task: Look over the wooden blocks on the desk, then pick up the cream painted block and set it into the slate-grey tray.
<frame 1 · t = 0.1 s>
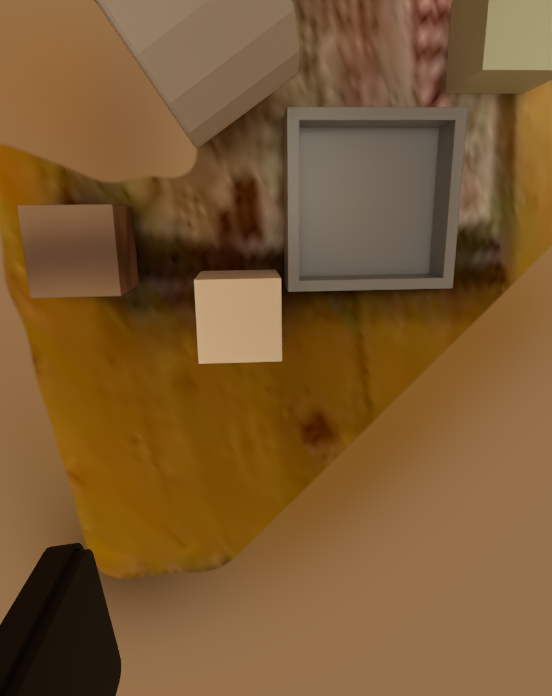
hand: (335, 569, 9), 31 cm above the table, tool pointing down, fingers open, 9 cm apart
walnut block: (97, 247, 37), on the table
grey tray: (363, 204, 38), on the table
sage block: (486, 49, 36), on the table
cream block: (239, 306, 39), on the table
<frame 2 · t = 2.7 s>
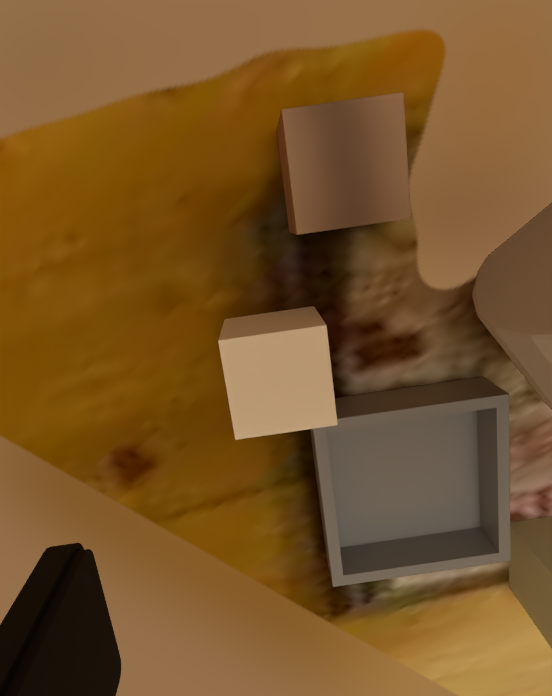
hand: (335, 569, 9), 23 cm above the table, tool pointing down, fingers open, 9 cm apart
walnut block: (330, 176, 30), on the table
grey tray: (401, 468, 35), on the table
sage block: (545, 549, 38), on the table
cream block: (275, 355, 33), on the table
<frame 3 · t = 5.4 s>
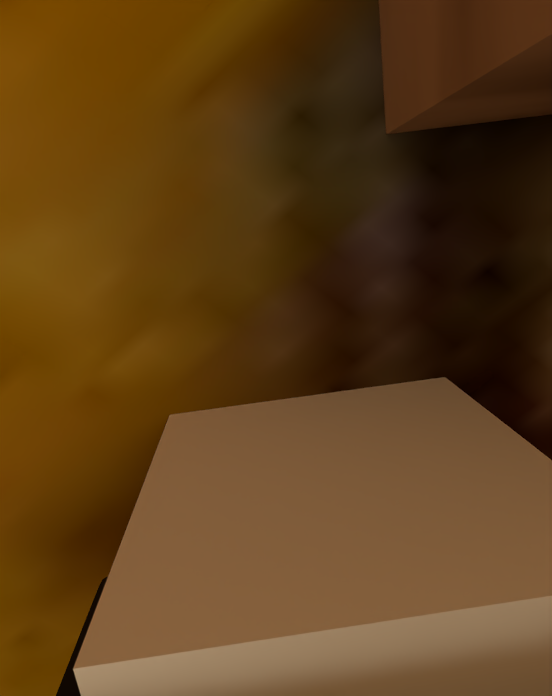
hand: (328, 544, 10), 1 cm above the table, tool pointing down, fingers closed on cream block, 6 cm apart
cream block: (321, 515, 11), on the table, touching gripper
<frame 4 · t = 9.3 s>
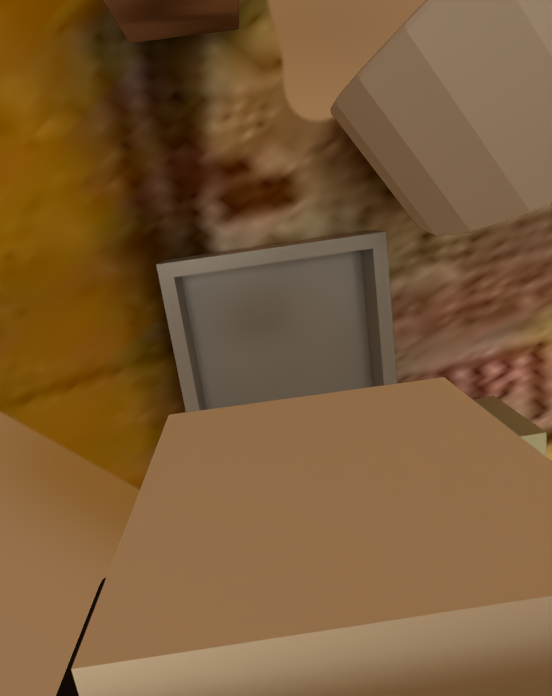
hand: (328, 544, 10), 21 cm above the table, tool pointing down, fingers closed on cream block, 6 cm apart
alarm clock: (485, 58, 28), on the table
grey tray: (281, 343, 31), on the table
sage block: (452, 441, 34), on the table
cream block: (320, 516, 11), point 20 cm above the table, touching gripper
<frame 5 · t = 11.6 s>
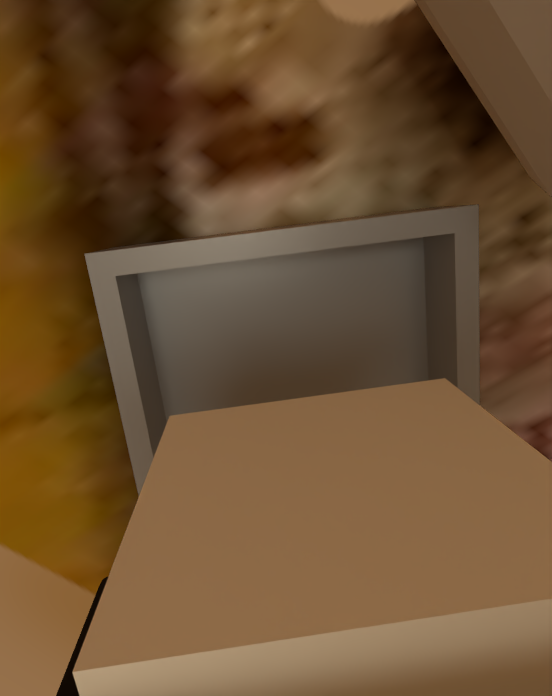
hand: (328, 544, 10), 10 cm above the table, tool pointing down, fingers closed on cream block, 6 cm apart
grey tray: (294, 379, 20), on the table
cream block: (321, 517, 11), point 9 cm above the table, touching gripper
when the fingers open (3 cm above the table, at t = 13.4 s): cream block drops 2 cm, resting on grey tray.
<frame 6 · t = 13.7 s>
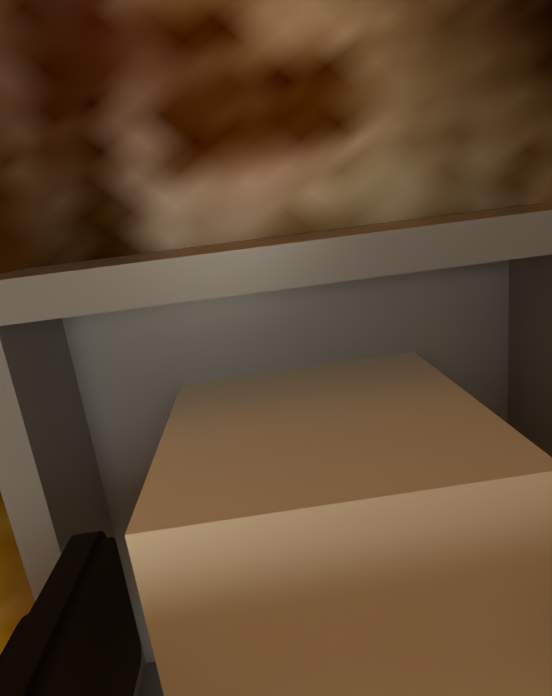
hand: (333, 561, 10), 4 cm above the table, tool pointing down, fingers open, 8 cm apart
grey tray: (307, 462, 14), on the table
cream block: (311, 472, 13), point 1 cm above the table, touching grey tray
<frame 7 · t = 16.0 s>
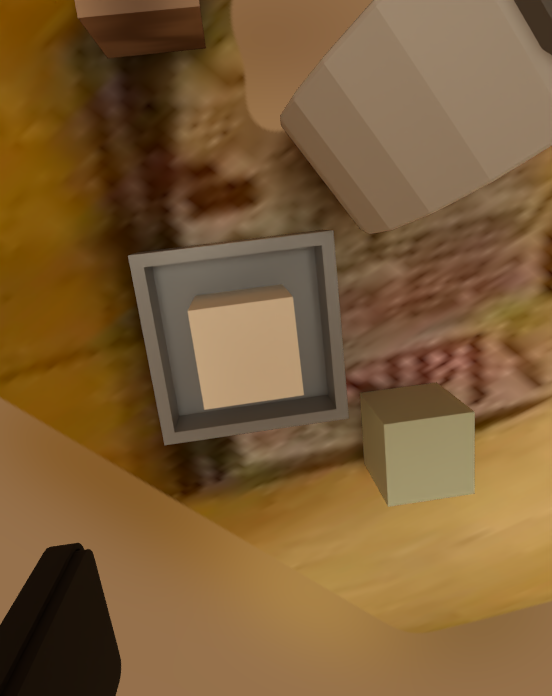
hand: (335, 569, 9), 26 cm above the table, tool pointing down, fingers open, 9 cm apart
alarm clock: (425, 79, 31), on the table
grey tray: (244, 330, 34), on the table
sage block: (399, 423, 37), on the table
cream block: (244, 332, 34), point 1 cm above the table, touching grey tray
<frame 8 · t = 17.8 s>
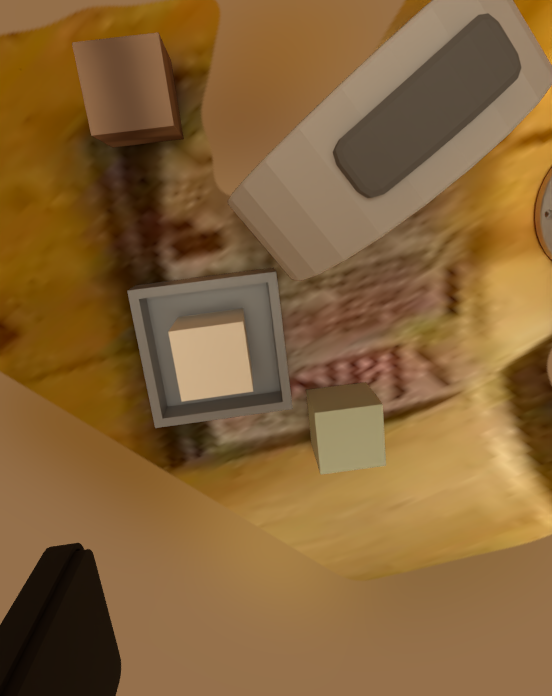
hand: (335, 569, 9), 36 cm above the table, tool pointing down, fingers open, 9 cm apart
walnut block: (141, 104, 40), on the table
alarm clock: (348, 157, 42), on the table
grey tray: (215, 342, 45), on the table
sage block: (338, 413, 48), on the table
cream block: (215, 343, 45), point 1 cm above the table, touching grey tray
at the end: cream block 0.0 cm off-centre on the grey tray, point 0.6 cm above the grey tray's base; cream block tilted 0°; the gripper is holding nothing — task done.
